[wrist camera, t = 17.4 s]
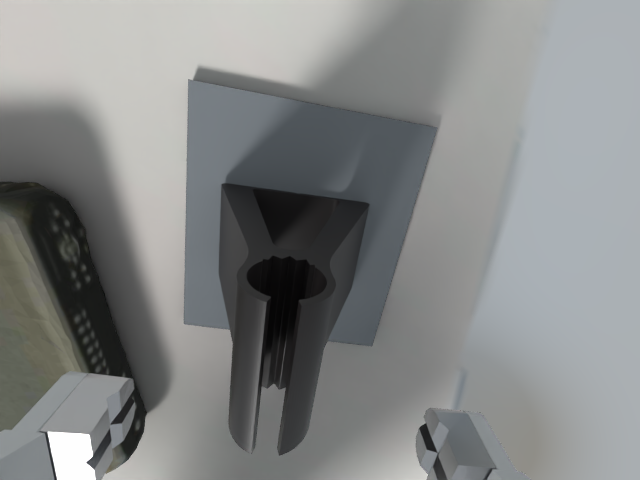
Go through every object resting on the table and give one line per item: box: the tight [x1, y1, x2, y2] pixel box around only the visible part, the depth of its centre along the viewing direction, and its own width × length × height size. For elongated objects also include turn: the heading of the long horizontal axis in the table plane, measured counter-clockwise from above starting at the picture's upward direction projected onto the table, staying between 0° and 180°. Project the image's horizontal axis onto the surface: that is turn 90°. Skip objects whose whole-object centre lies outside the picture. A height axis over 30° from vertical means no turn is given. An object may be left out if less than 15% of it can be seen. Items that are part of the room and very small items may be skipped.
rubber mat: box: [184, 79, 437, 346], centre depth 21 cm, size 16×14×1 cm
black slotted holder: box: [218, 183, 370, 455], centre depth 15 cm, size 9×6×12 cm, turn 81°
